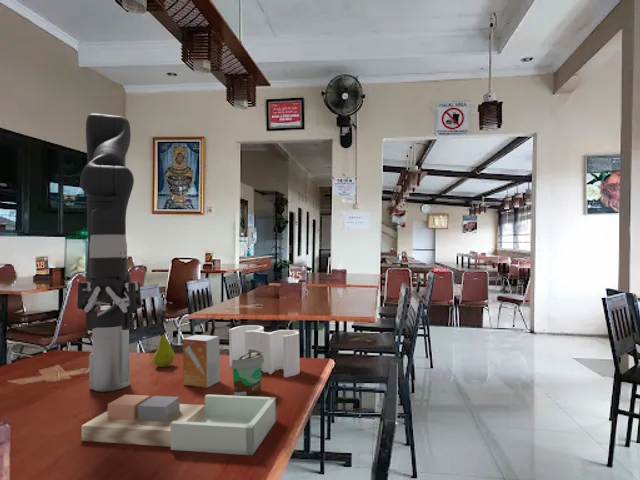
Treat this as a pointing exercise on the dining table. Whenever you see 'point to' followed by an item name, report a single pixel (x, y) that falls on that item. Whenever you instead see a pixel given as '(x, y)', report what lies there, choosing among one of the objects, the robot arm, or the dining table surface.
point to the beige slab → (138, 428)
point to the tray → (227, 425)
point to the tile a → (126, 407)
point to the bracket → (267, 347)
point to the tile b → (158, 408)
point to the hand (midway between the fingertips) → (109, 329)
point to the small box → (201, 360)
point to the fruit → (164, 353)
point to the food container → (248, 373)
